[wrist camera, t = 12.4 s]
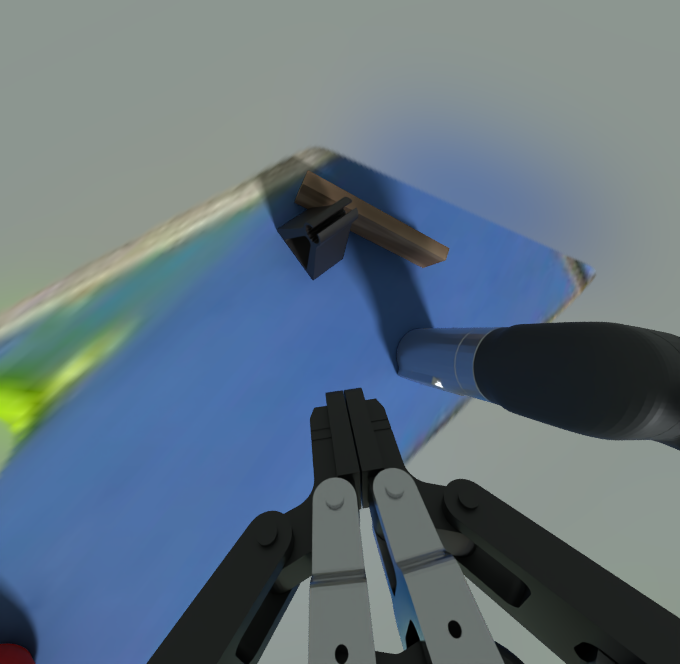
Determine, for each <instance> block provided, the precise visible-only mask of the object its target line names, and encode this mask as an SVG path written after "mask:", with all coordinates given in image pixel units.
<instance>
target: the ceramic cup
mask: <svg viewBox="0 0 680 664" xmlns="http://www.w3.org/2000/svg"><path fill="white" fill-rule="evenodd" d="M0 664H35V662H34V660H33V659H32V656H31V654H30V653H29V651H28V650H27V649H25V648H24V647H22V646H20V645H16V644H9V643H6V644H0Z"/></svg>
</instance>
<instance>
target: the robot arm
mask: <svg viewBox="0 0 680 664" xmlns="http://www.w3.org/2000/svg"><path fill="white" fill-rule="evenodd" d="M397 363H398V367H399V371H398V376H401V377H404V378H406V379H409V380H412V381H415V382H418V383H420V384H423V385H426V386H430V387H433V388H437V389H440V390H444V391H447V392H451V393H454V394H458V395H461V396H464V395H466V396H469V397H473V398H477V399H480V400H483V401H487V402H491V403H495V404H497V405H501V406H502V407H503V408H504V409H506V410H508V411H510V412H512V413H515V414H518V415H521V416H524V417H527V418H530V419H533V420H536V421H540V422H542V423H545V424H549V425H552V426H555V427H558V428H562V429H564V430H568V431H571V432H575V433H578V434H582V435H586V436H590V437H595V438H600V439H607V440H653V441H657V442H660V443H663V444H665V445H668V446H670V447H673V448H675V449H677V450H680V337H678V336H675V335H672V334H669V333H664V332H660V331H655V330H650V329H645V328H640V327H634V326H629V325H623V324H618V323H609V322H564V323H539V324H519V325H514V326H511V327H494V328H422V329H414V330H412V331H409V332H408V333H407V334H405V335H404V337H403V338H402V339H401V341H400V343H399V345H398V348H397ZM325 394H326V403H327V406H323V407H316V408H314V410H313V412H312V415H311V417H310V427H311V440H312V454H313V468H314V486H313V489H312V492H311V494H310V495H309V497H308V498H307V499H306V500H305V501H304V502H303V503H302V504H301V505H299V506H297V507H296V508H294V509H292V510H290V511H288V512H287V513H285V514H283V513H281V512H278V511H268V512H264V513H262V514H260V515H259V516H257V517H256V518H255V519H254V520H253V521H252V522H251V523H250V525H249V526H248V527H247V529H246V530H245V531H244V533H243V534H242V535H241V537H240V538H239V539H238V541H237V542H236V543H235V545H234V546H233V547H232V549H231V550H230V552H229V553H228V554H227V556H226V557H225V558H224V560H223V561H222V562H221V564H220V565H219V566H218V568H217V569H216V570H215V572H214V573H213V575H212V576H211V577H210V579H209V580H208V581H207V583H206V584H205V585H204V587H203V588H202V589H201V591H200V592H199V593H198V595H197V596H196V597H195V599H194V600H193V602H192V603H191V604H190V606H189V607H188V608H187V610H186V611H185V612H184V614H183V615H182V616H181V618H180V619H179V620H178V622H177V623H176V625H175V626H174V627H173V629H172V630H171V631H170V633H169V634H168V635H167V637H166V638H165V639H164V641H163V642H162V643H161V645H160V646H159V647H158V649H157V650H156V652H155V653H154V654H153V656H152V657H151V658H150V660H149V661H148V662H147V664H257V663H258V661H259V659H260V658H261V656H262V654H263V652H264V650H265V648H266V646H267V644H268V643H269V641H270V639H271V637H272V635H273V633H274V631H275V630H276V628H277V626H278V624H279V622H280V620H281V618H282V617H283V615H284V613H285V611H286V609H287V607H288V605H289V604H290V602H291V600H292V598H293V596H294V594H295V592H296V591H297V589H298V587H299V585H300V583H301V582H302V581H304V580H305V579H307V578H309V577H310V576H312V577H311V581H310V590H309V643H308V644H309V645H308V664H524V663H523V662H522V661H521V660H520V659H519V658H518V657H517V656H515V655H514V654H513V653H512V652H510V651H509V650H508V649H507V648H505V647H504V646H502V645H500V644H499V643H497V642H496V641H494V640H493V638H492V636H491V633H490V631H489V629H488V627H487V625H486V623H485V620H484V618H483V616H482V614H481V612H480V610H479V607H478V605H477V603H476V601H475V599H474V597H473V594H472V592H471V590H470V588H469V586H468V584H467V581H466V579H465V577H464V575H465V576H466V577H467V578H468V579H469V580H470V581H472V582H473V583H474V584H475V585H476V586H477V587H479V588H480V589H481V590H482V591H483V592H484V593H485V594H487V595H488V596H489V597H490V598H491V599H492V600H494V601H495V602H496V603H497V604H498V605H499V606H501V607H502V608H503V609H504V610H505V611H506V612H507V613H509V614H510V615H511V616H512V617H513V618H514V619H515V620H517V621H518V622H519V623H520V624H521V625H522V626H523V627H525V628H526V629H527V630H528V631H529V632H531V633H532V634H533V635H534V636H535V637H536V638H537V639H538V640H540V641H541V642H542V643H543V644H544V645H545V646H547V647H548V648H549V649H550V650H551V651H552V652H554V653H555V654H556V655H557V656H558V657H559V658H560V659H562V660H563V661H564V662H565V663H566V664H680V618H678V617H677V616H675V615H674V614H672V613H671V612H669V611H668V610H666V609H665V608H663V607H662V606H660V605H659V604H657V603H656V602H654V601H653V600H651V599H650V598H648V597H646V596H645V595H643V594H642V593H640V592H639V591H638V590H636V589H635V588H633V587H631V586H630V585H628V584H627V583H626V582H624V581H622V580H621V579H619V578H618V577H616V576H615V575H613V574H612V573H610V572H609V571H607V570H606V569H604V568H603V567H601V566H600V565H598V564H597V563H595V562H594V561H592V560H591V559H589V558H588V557H586V556H585V555H583V554H582V553H580V552H579V551H577V550H576V549H574V548H572V547H571V546H569V545H568V544H567V543H565V542H564V541H562V540H561V539H559V538H558V537H556V536H555V535H553V534H551V533H550V532H549V531H547V530H545V529H544V528H542V527H541V526H539V525H538V524H536V523H535V522H533V521H532V520H530V519H529V518H527V517H526V516H524V515H523V514H521V513H520V512H518V511H517V510H515V509H514V508H512V507H511V506H509V505H508V504H506V503H505V502H503V501H501V500H500V499H499V498H497V497H496V496H494V495H493V494H491V493H490V492H488V491H486V490H485V489H483V488H482V487H481V486H479V485H478V484H476V483H474V482H472V481H470V480H466V479H456V480H454V481H451V482H450V483H449V484H448V485H447V486H442V485H436V484H430V483H425V482H422V481H420V480H418V479H416V478H415V477H413V476H412V475H411V474H410V473H409V472H408V471H407V469H406V468H405V466H404V463H403V461H402V458H401V455H400V452H399V449H398V446H397V443H396V441H395V438H394V435H393V432H392V430H391V426H390V423H389V421H388V418H387V415H386V412H385V409H384V407H383V406H382V405H381V404H380V403H379V402H378V401H377V400H376V399H370V400H365V398H364V395H363V391H362V388H356V389H349V390H344V394H343V390H342V391H335V392H328V393H325ZM361 501H362V506H363V508H368V507H369V508H370V512H371V517H372V525H373V526H372V528H373V533H374V537H375V541H376V544H377V548H378V552H379V555H380V559H381V562H382V566H383V569H384V572H385V576H386V580H387V583H388V587H389V591H390V594H391V598H392V603H393V609H394V615H395V619H396V623H397V628H398V631H399V635H400V639H401V642H402V646H403V649H404V651H403V652H401V653H399V654H390V653H384V652H378V651H375V648H374V640H373V632H372V623H371V613H370V605H369V596H368V587H367V580H366V574H365V567H364V559H363V550H362V541H361V532H360V516H359V509H361ZM463 574H464V575H463Z"/></svg>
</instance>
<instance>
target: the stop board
mask: <svg viewBox="0 0 680 664" xmlns="http://www.w3.org/2000/svg"><path fill="white" fill-rule="evenodd" d="M343 197H349V198H350V199H351V200H352V202H351V203H350V204H348V205H347V206H345V207H344V208H343V209H344V210H345V212H346V214H347V213H348V212H350V211H351V210H353V209H354V208H356V207H357V210H358V219H357V220H355V221H354V222H353V223H352V224H351V228H350V231H351V232H353V233H355V234H357V235H359V236H361V237H363V238H365V239H367V240H369V241H371V242H373V243H375V244H377V245H379V246H381V247H383V248H385V249H387V250H389V251H391V252H393V253H395V254H397V255H399V256H401V257H403V258H404V259H406V260H408V261H410V262H412V263H414V264H416V265H418V266H420V267H422V268H424V267H427V266H430V265H433V264H436V263H439V262H442V261H445V260H446V258H447V255H448V252H449V248H448V247H446V246H444V245H442V244H440V243H439V242H437V241H435V240H433V239H431V238H430V237H428V236H426V235H424V234H422V233H421V232H419V231H417V230H415V229H413V228H412V227H410V226H408V225H406V224H404V223H403V222H401V221H399V220H397V219H395V218H393V217H392V216H390V215H388V214H386V213H384V212H383V211H381V210H379V209H377V208H375V207H374V206H372V205H370V204H368V203H366V202H365V201H363V200H361V199H359V198H357V197H356V196H354V195H352V194H350V193H348V192H347V191H345V190H343V189H341V188H339V187H338V186H336V185H334V184H332V183H330V182H329V181H327V180H325V179H323V178H321V177H319V176H318V175H316V174H314V173H312V172H310V171H309V170H308V171H307V173H306V176H305V178H304V180H303V182H302V184H301V187H300V189H299V191H298V194H297V196H296V199H295V203H297V204H298V205H300V206H302V207H304V208H306V209H309V208H315V207H321V206H328V205H333V204H334V203H336V202H337V201H339V200H340V199H342V198H343Z"/></svg>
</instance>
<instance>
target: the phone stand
mask: <svg viewBox="0 0 680 664" xmlns="http://www.w3.org/2000/svg"><path fill="white" fill-rule="evenodd" d="M351 202H352V200H351V199H350V198H349V197H343V198H342V199H340V200H339V201H337V202H336V203H334V204H333V205H328V206H321V207H315V208H309V209H307V210H306V211H304V212H303V213H301V214H299V215H298V216H296V217H295V218H293V219H292V220H290V221H289V222H287V223H286V224H284V225H283V226H281V227H279V228H278V229H277V231H278V233H279V234H280V236H281V237H282V238H283V240H284V241H285V243H286V244H287V245H288V247H289V248H290V250H291V251H292V252H293V254H294V255H295V256H296V258H297V259H298V261H299V262H300V263H301V265H302V266H303V268H304V269H305V270H306V272H307V273H308V275H309V276H310V277H311V279H312V280H314V279H316V278H317V277H319V276H320V275H321V274H323V273H324V272H325V271H327V270H328V269H329V268H331V267H332V266H334V265H335V264H336V263H338V262H339V261H340V260H342V259H343V256H344V252H345V248H346V244H347V240H348V236H349V232H350V228H351V224H352V223H353V222H354V221H355V220H357V219H358V210H357V207H356V208H354V209H353V210H351V211H350V212H348V213H347V214H346V212H345V210H344V209H343V208H344V207H345V206H347V205H348V204H350V203H351Z"/></svg>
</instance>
